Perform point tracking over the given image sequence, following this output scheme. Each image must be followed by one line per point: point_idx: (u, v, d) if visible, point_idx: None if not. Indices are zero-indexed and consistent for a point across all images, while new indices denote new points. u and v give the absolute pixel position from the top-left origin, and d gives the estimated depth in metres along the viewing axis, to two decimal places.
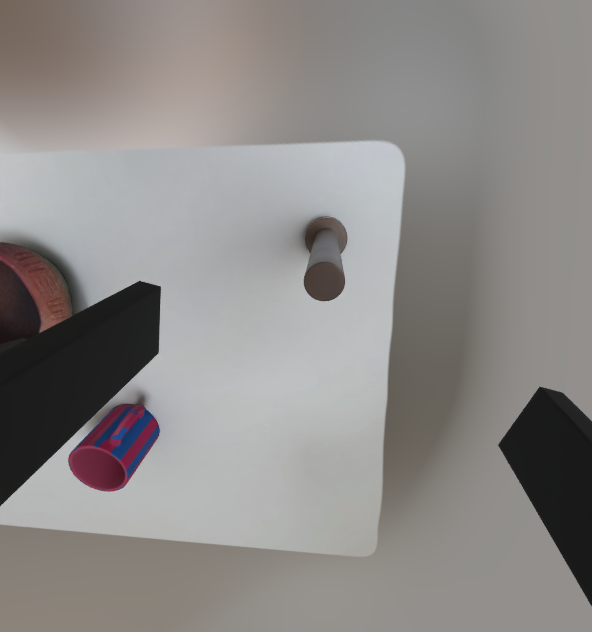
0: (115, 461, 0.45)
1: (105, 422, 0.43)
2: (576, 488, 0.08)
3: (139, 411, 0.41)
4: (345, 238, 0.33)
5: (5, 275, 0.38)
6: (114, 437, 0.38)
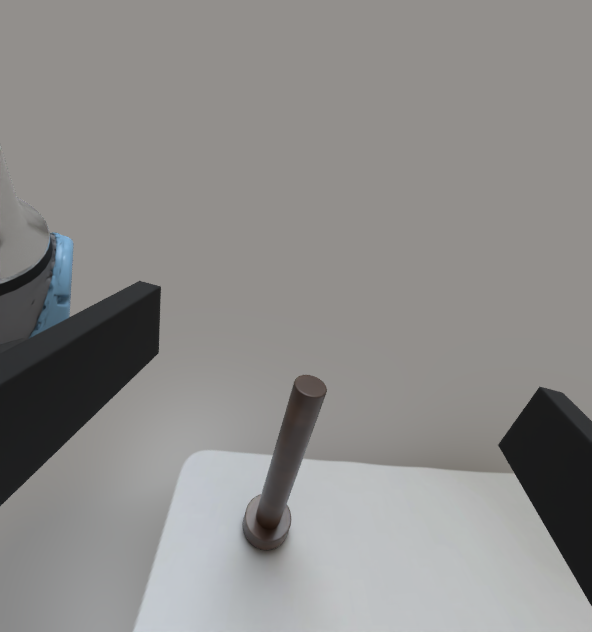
0: None
1: None
2: (576, 488, 0.08)
3: None
4: None
5: None
6: None
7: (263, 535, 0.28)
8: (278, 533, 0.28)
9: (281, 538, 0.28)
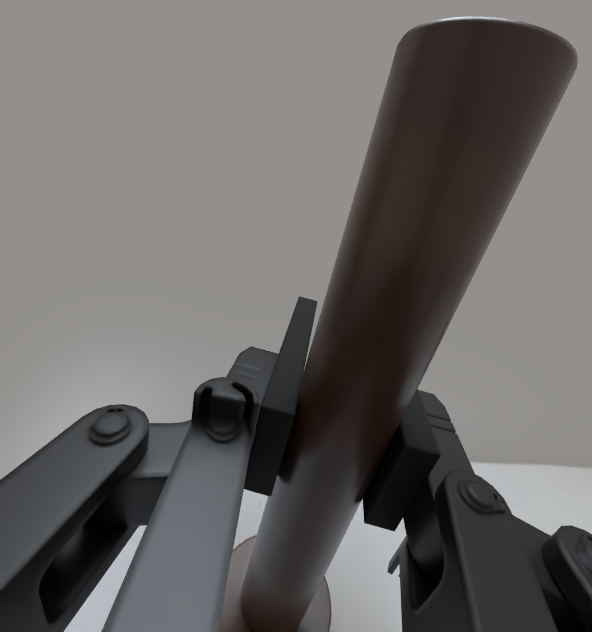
0: None
1: None
2: None
3: None
4: None
5: None
6: None
7: None
8: None
9: None
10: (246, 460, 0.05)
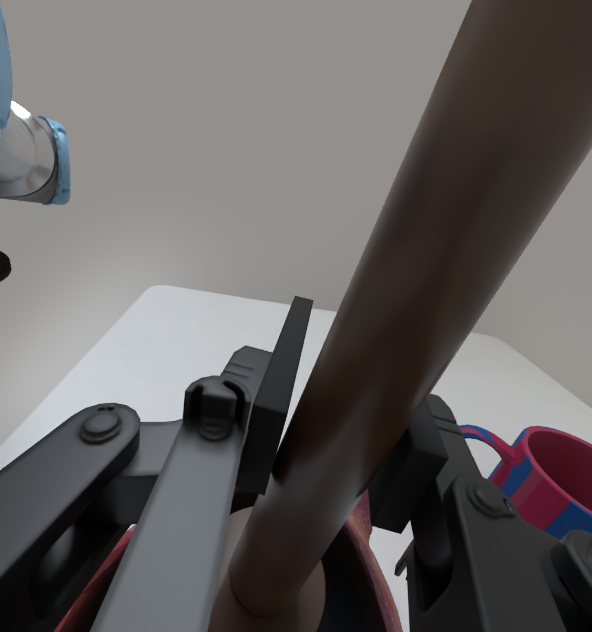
0: None
1: None
2: None
3: None
4: None
5: None
6: (486, 435, 0.21)
7: None
8: None
9: None
10: (237, 458, 0.05)
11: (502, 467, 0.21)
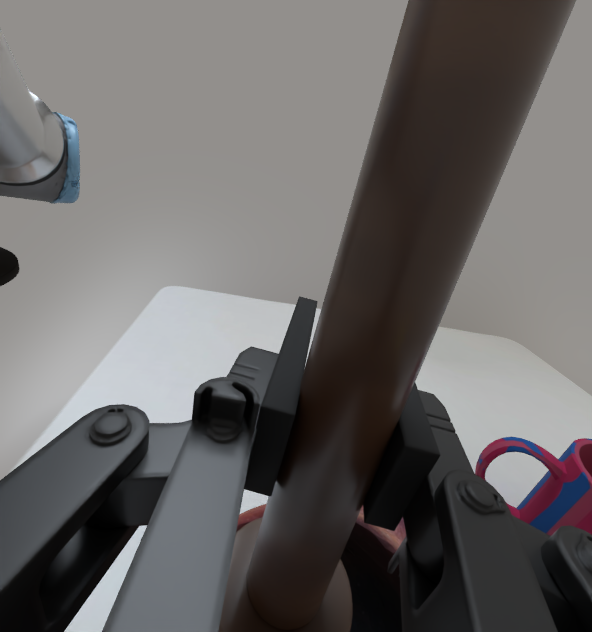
0: None
1: None
2: None
3: None
4: None
5: None
6: (534, 448, 0.20)
7: None
8: None
9: None
10: (246, 460, 0.05)
11: (550, 482, 0.20)
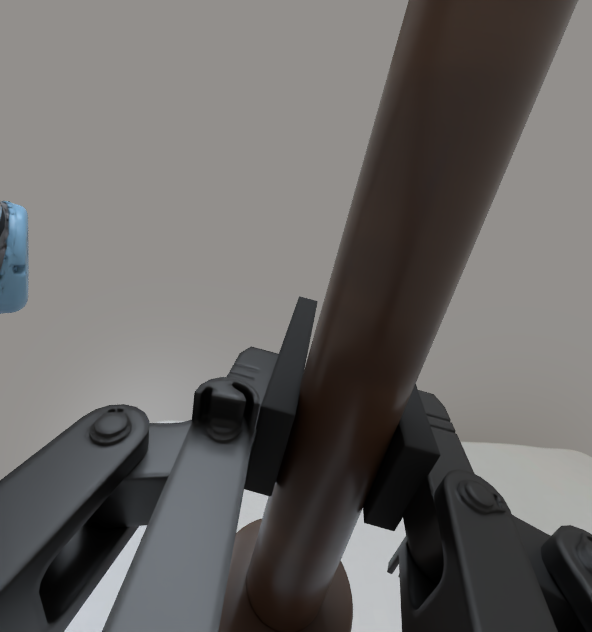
0: None
1: None
2: None
3: None
4: None
5: None
6: None
7: None
8: None
9: None
10: (246, 460, 0.05)
11: None
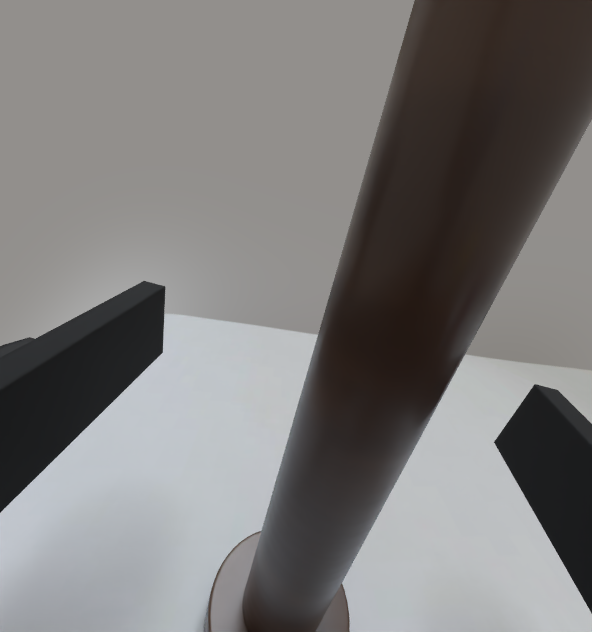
0: None
1: None
2: (570, 484, 0.08)
3: None
4: None
5: None
6: None
7: None
8: None
9: None
10: None
11: None
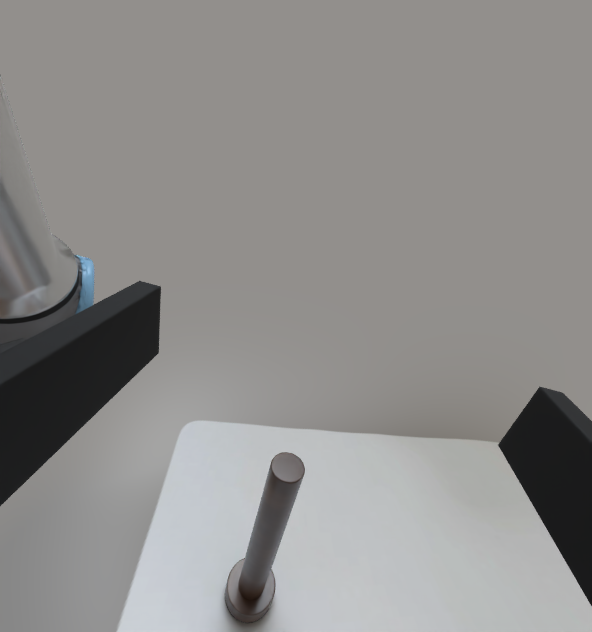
0: None
1: None
2: (576, 488, 0.08)
3: None
4: None
5: None
6: None
7: (245, 608, 0.27)
8: (261, 604, 0.27)
9: (264, 610, 0.27)
10: None
11: None
